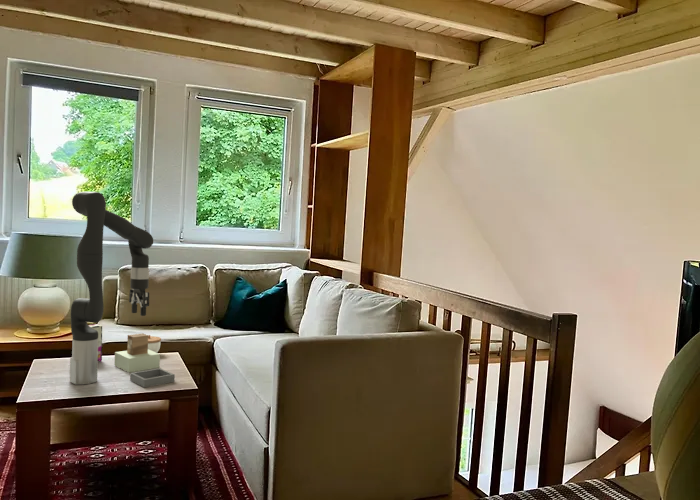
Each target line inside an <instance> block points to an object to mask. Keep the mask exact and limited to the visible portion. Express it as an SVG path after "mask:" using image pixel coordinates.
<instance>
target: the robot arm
mask: <svg viewBox="0 0 700 500" xmlns="http://www.w3.org/2000/svg"><path fill="white" fill-rule="evenodd" d="M71 203H72V204H71V205H72V208H73V209H74V211H76V213H77V214H80V215H82V216H85V217H86V229H85V231H84V233H83V236H82V237H81V239H80V240H79V243H78V245H77V249H76V250H77V251H76V266H77V270H78V271H79V273H80V275H81V276H82V278H83V280H84V282H85V284H86V285H87V288H88V294H89V298H87V297H79V298H75V299H74V300H73V301H72V304H71V305H70V306H71V307H70V330H71V334H72V348H71V350H72V351H71V354H72V355H71V357H69V358H70V359H69V382H70V383H71V384H73V385H75V386H77V385H90V384H94V383H96V382H97V381H98V331H97V330H95V329H93V328H91V327H90V326H89V325H90V324H88V323H98V322H100V321H101V320H102V318H103V314H104V310H105V309H104V295H103V262H104V261H103V255H104V253H103V252H104V251H103V250H104V249H103V248H104V247H103V246H104V245H103V244H104V243H103V242H104V227H106V228H107V229H108V230H111V231H112V232H114V233H115V234H116V235H118V236H119V237H121V238H123V239H125V240H128V241H127V242H128V243H127V244H128V247H129V252H130V255H131V267H130V284H129V285H130V287H129V288H130V289H129V297H128V302H129V303H130V305H131V313H132V314H136V313H138V304H139V306H140V311H139V312H140V316H141V317H145V316H146V315H147V308H148V307H149V306H150V292H147V291H146V290H147V289H149V284H150V283H149V282H150V281H149V279H150V278H149V277H150V273H149V272H150V269H149V265H150V264H149V261H150V260H149V259H150V257H149V255H148V254H146V253H144V252H143V250H145V249H150V248H151V247H152V246H153V244H154V237H153V236H152V235H151V233H150V232H148V231H147V230H145V229H143V228H140V227H138V226H136V225H134V224H133V223H132V222H131V221H129V220H128V219H126V218H124V217H123V216H121V215H119V214H117V213H114V212H112V211H109V210H108V209H107V201H106V198H105V196H104V195H103V194H102V193H101V192H99V191H98V192H97V191H80V192H77V193H75V194H74V196H73V197H72V200H71Z"/></svg>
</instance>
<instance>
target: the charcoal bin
mask: <svg viewBox="0 0 700 500" xmlns="http://www.w3.org/2000/svg"><path fill="white" fill-rule="evenodd" d="M129 373H130V374H129V381H131V382H133V383H135V384H136V385H139V387H142V388H149V387H153V386H158V385H165V384H168V383H174V382H175V373H172V372H170V371H169V370H166V369H163V368H162V367H159V368H153V369H147V370H141V371H135V372H129Z"/></svg>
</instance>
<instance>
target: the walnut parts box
mask: <svg viewBox="0 0 700 500" xmlns="http://www.w3.org/2000/svg"><path fill="white" fill-rule="evenodd" d="M148 335H149V334H146V333H143V332H141V333H134V334H128V335H127V341H126V342H127V345H126V346H127V349H126V351H127V353H128V354H130V355H139V354H146V353H148Z"/></svg>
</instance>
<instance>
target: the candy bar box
mask: <svg viewBox="0 0 700 500" xmlns="http://www.w3.org/2000/svg"><path fill="white" fill-rule="evenodd" d="M88 325H89V326H90V327H91V328H93V329H95V330H97V331H98V362H102V361H103V325H102V324H98V323H97V324H96V323H95V324H88Z"/></svg>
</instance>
